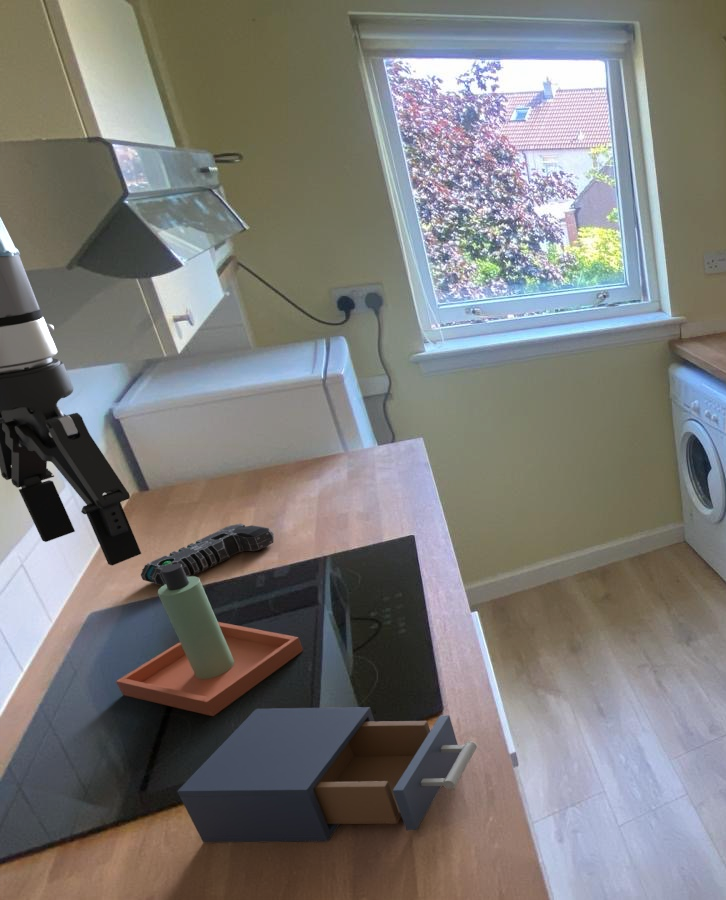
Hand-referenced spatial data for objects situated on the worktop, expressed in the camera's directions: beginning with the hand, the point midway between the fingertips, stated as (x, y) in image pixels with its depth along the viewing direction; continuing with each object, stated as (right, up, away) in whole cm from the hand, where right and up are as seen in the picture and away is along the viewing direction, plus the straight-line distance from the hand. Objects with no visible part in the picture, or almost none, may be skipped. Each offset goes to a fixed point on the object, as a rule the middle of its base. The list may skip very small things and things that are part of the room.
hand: (91, 547), depth 82 cm
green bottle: (-9, -22, +29) cm, 37 cm away
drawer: (+31, -30, +6) cm, 44 cm away
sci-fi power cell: (-33, -11, +58) cm, 67 cm away
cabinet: (+19, -31, +7) cm, 37 cm away
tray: (-9, -23, +29) cm, 38 cm away
